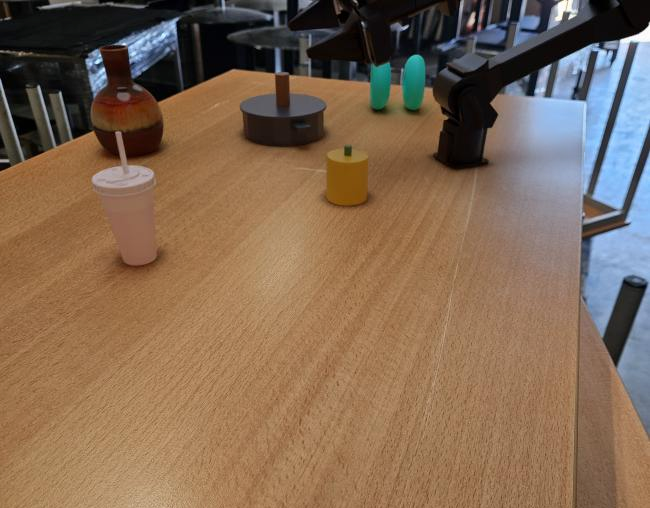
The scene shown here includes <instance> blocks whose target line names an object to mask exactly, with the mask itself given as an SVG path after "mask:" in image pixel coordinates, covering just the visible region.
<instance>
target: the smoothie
mask: <svg viewBox="0 0 650 508" xmlns="http://www.w3.org/2000/svg"><path fill="white" fill-rule="evenodd" d="M115 134H116V139H117V144H118V148H119V153H120V156H119V158H120V163H121V165H118V166H112V167H107V168H105V169H102V170H100V171H98V172H97V173H95V174H94V175H93V176H92V177H91V183H92V190H93V192H94V193H97V195H98V197H99V200H100V204H101V206H102V208H103V211H104V214H105V216H106V218H107V221H108V224H109V227H110V230H111V232H112V234H113V237H114V240H115V242H116V245H117V247H118V251H119V254H120V256H121V258H122V261H123V263H125V264H126V265H128V266H138V267H139V266H143V265H148V264H151V263H152V262H154V261H155V260H156V259H157V256H158V255H157V252H158V251H157V235H156V231H157V230H156V214H155V213H156V211H155V191H154V190H155V189H154V187H155V185H156V183H157V180H156V178H155V172H154V171H153V170H152V169H151V168H149V167H146V166H142V165H134V164H133V165H130V164H129V165H128V161H127V156H126V155H125V150H124V145H123V140H122V135H121V132H115Z"/></svg>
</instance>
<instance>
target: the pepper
mask: <svg viewBox="0 0 650 508" xmlns="http://www.w3.org/2000/svg"><path fill="white" fill-rule="evenodd" d="M369 160H370V155H369V153H368V152H367V151H365V150H362V149H358V148H353V146H352V145H351V144H345V145H344V146H343V147H342V148H336V149H335V148H334V149H331V150H330V151H328V152H327V153H326V191H325V193H326V195H325V197H326V200H327V201H328V202H329V203H332V204H334V205H337V206H344V207H346V206H347V207H350V206H358V205H361V204H363V203H365V202H366V201H367V199H368V184H369V166H370V165H369V162H370V161H369Z"/></svg>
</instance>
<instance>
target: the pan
mask: <svg viewBox="0 0 650 508" xmlns="http://www.w3.org/2000/svg"><path fill="white" fill-rule="evenodd" d="M324 112H325V111H324ZM324 112H322V113H320V114H318V115H315V116H312V117H307V118H301V119H292V120H271V119H262V118H256V117H252V116H249V115H246V114H244V113H243V112H242V111H241V113H242V125H243V126H242V127H243V133H244V136H245V138H246V139H247V140H249V141H251V142H253V143H254V144H259V145H263V146H269V147H271V146H272V147H293V146H302V145H306V144H310V143H313V142H316V141H318V140H320V139H321V138H322V137H323V136H324V128H325V126H324V124H325V123H324V120H325V119H324V115H325V113H324Z"/></svg>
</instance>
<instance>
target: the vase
mask: <svg viewBox="0 0 650 508" xmlns="http://www.w3.org/2000/svg"><path fill="white" fill-rule="evenodd" d="M98 49H99V53H100V57H101V60H102V64H103V68H104V72H105V76H106V85H105V86H103V87H102V88H101V89H100V90H98V92H97V93H96V95H95V96H94V98H93V100H92V101H91V106H90V122H91V127H92V130H93V133H94V134H95V137H96V139H97V141H98V142H99V144H100V145H101V146H102V148H103V149H104V150H105V151H107V152H108V153H109V154H111V155H114V156H118V157H120V153H119V148H118V144H117V139H116V134H115V132H121V135H122V140H123V145H124V150H125V155H126V157H139V156H142V155H144V156H145V155H147V154H150V153H152V152H154V151H156V150H157V149H158V148H159V146H160V144H161V143H162V139H163V136H164V116H163V112H162V109H161V106H160V104H159V102H158V101H157V99H156V98H155V96H153V94H152V93H151V92H150V91H149V90H147V89H146V88H145V87H143V86H141V85H140V84H138V83H136V82H134V79H133V76H132V69H131V62H130V61H131V60H130V53H129V52H130V51H129V47H128V46H127V45H125V44H108V45H102V46H100V47H99V48H98Z"/></svg>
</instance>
